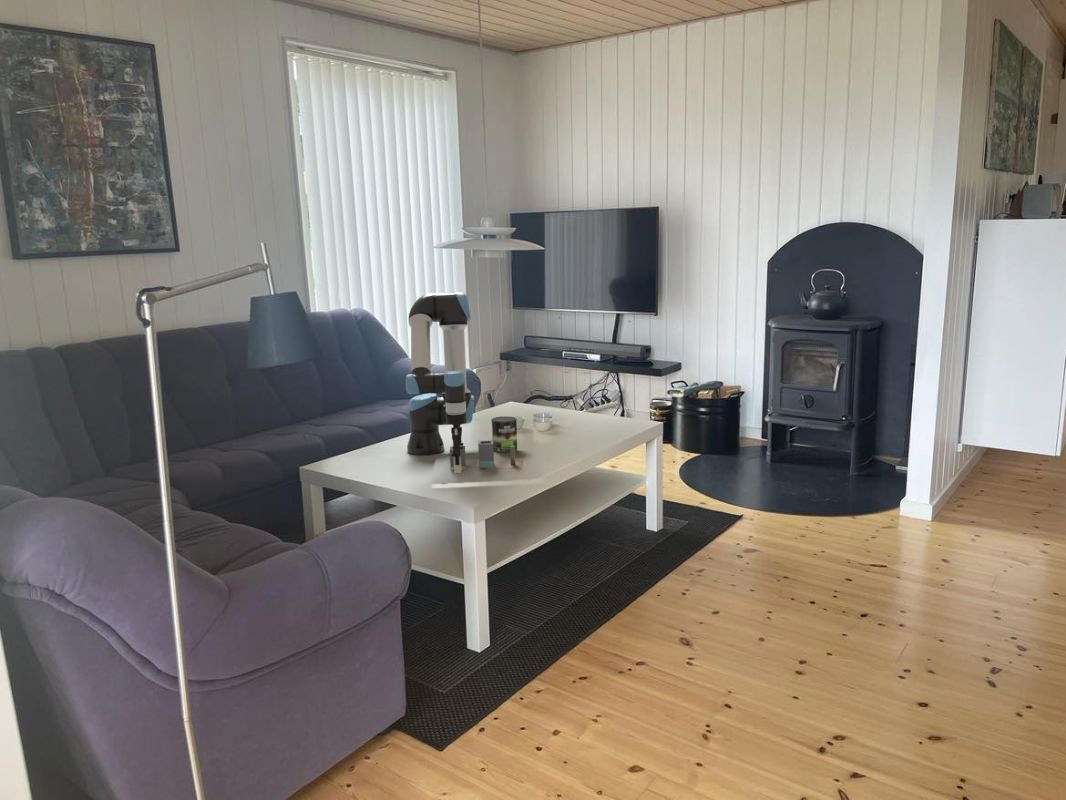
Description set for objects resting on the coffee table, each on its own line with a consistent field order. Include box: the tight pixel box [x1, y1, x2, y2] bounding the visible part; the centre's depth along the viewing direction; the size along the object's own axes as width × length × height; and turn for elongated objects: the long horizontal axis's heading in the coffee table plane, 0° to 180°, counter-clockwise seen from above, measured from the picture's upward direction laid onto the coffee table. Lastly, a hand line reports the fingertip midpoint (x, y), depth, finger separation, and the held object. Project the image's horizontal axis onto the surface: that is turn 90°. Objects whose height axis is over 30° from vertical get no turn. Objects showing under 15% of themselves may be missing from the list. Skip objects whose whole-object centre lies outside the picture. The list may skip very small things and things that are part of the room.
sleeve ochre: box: [449, 445, 467, 471], centre depth 306 cm, size 6×6×9 cm
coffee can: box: [490, 416, 518, 453], centre depth 331 cm, size 10×10×14 cm
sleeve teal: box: [477, 439, 495, 468], centre depth 308 cm, size 6×6×9 cm
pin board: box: [475, 446, 525, 471], centre depth 308 cm, size 18×10×8 cm, turn 93°
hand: (458, 468), depth 307 cm, fingers open, 13 cm apart
